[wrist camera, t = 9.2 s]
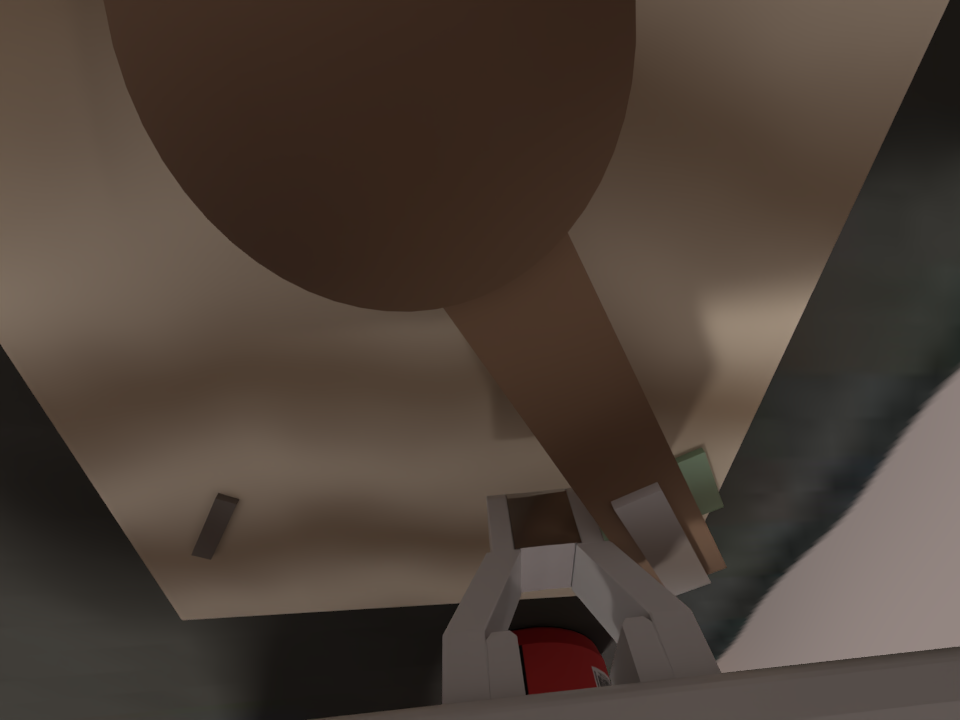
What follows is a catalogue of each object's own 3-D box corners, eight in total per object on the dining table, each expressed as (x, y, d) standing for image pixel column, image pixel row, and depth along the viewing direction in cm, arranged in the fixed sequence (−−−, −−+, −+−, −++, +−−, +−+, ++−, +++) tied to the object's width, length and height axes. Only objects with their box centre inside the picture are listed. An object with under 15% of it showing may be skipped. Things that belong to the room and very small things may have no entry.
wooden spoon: (179, 18, 7) (-36, -41, 4) (456, -230, 5) (473, -608, 3) (566, 518, 14) (600, 636, 11) (719, 453, 13) (805, 564, 10)
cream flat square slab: (657, 545, 19) (680, 594, 17) (206, 569, 18) (179, 625, 16) (904, -77, 8) (1034, -123, 7) (-177, -146, 7) (-397, -230, 5)
